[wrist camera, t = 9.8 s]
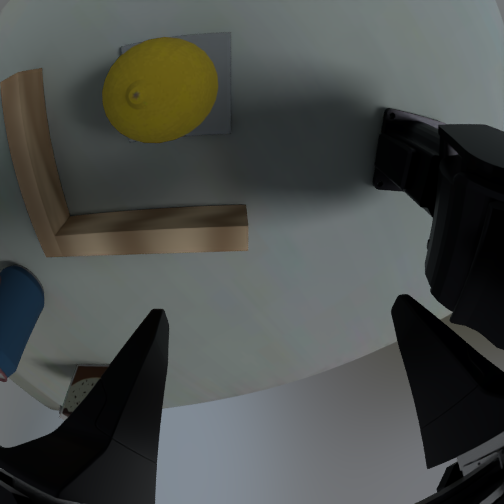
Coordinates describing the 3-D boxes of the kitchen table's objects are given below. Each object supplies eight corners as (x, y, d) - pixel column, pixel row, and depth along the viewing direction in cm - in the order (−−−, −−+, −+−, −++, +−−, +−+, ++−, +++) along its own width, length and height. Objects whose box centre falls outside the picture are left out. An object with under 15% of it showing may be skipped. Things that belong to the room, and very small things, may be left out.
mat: (230, 32, 13) (230, 32, 12) (231, 132, 17) (230, 133, 17) (123, 46, 12) (121, 46, 12) (130, 141, 17) (129, 142, 16)
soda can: (5, 250, 21) (-47, 332, 11) (51, 279, 24) (7, 372, 14) (6, 285, 24) (-33, 359, 14) (46, 311, 27) (14, 391, 17)
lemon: (190, 29, 12) (158, -1, 6) (238, 94, 15) (242, 109, 9) (120, 81, 14) (51, 96, 7) (167, 141, 17) (128, 190, 10)
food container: (92, 381, 38) (81, 431, 30) (71, 363, 35) (57, 416, 27) (149, 383, 38) (142, 440, 30) (130, 364, 34) (119, 428, 26)
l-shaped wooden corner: (247, 26, 12) (250, 17, 10) (245, 227, 22) (248, 250, 19) (24, 76, 11) (0, 82, 9) (60, 236, 21) (46, 257, 18)
